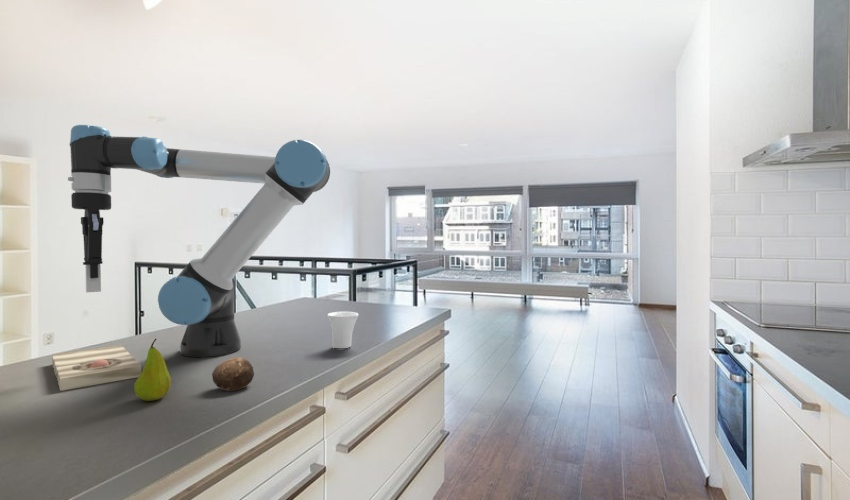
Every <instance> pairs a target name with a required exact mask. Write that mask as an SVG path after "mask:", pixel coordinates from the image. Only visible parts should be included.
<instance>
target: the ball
mask: <svg viewBox="0 0 850 500" xmlns="http://www.w3.org/2000/svg"><path fill="white" fill-rule="evenodd" d="M107 365H109V363H108V361H106V360H104V359H98V360H96V361H94V362H93V363H92V364H91V366H90V368H96V367H103V366H107Z"/></svg>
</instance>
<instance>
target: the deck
mask: <svg viewBox="0 0 850 500" xmlns="http://www.w3.org/2000/svg"><path fill="white" fill-rule="evenodd" d="M55 354H56V355H55ZM98 359H104V360H106V361H108V363H109V365H107V366H103V367H96V368H90V366H91V364H92V363H93V362H94V361H96V360H98ZM51 365H53V366H52V369H53V368H54V369H53V372H54V375H55V378H57V379H56V381H58V382H57V385H58V387H59V391H60V392H61V391H68V390H73V389H79V388H85V387H89V386H96V385H102V384H107V383H113V382H117V381H123V380H129V379H134V378H138V377H139V376H140V374H141V373H142V365H141V363H140V362H139V361H137V359H135V357H134V356H133V355H131V353H130V352H129V351H128V350H127V349H126V348H125V347H124V346H123V345H122V344H119V345H113V346H105V347H98V348H90V349H83V350H74V351H68V352H60V353H58V352H57V353H53V354H51Z"/></svg>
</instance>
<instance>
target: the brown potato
mask: <svg viewBox="0 0 850 500" xmlns="http://www.w3.org/2000/svg"><path fill="white" fill-rule="evenodd" d="M211 375H212V376H211V377H212V381H213V383H214V385H215V386H216V387H217V388H219V389H221V390H223V391H227V392H228V391H230V392H234V391H237V390H241V389H243V388H246V387H247V386H248V385H249V384H250V383H252V381H253V378H254V375H255V371H254V367H253V365H252V363H251V362H250V361H249V360H248V359H245V358H243V357H233V358H229V359H227V360H224V361H222V362H221V363H219V364H218V365H217V366H216V367H215V368H214V370H213V371H212V373H211Z"/></svg>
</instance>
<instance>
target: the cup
mask: <svg viewBox="0 0 850 500" xmlns="http://www.w3.org/2000/svg"><path fill="white" fill-rule="evenodd" d="M326 316H327V319H328V321H329V324H330V328H331V334H332V337H331V338H332V342H331V343H332V345H331V347H332V349H334V348H348V347H350V346H351V347H352V339H353V333H354V332H353V331H354V328H355V325H356V322H357V320H358V318H359V313H358V312H356V311H355V312H354V311H334V312H329V313H327V315H326ZM351 347H350V348H351ZM348 349H349V348H348Z"/></svg>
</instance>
